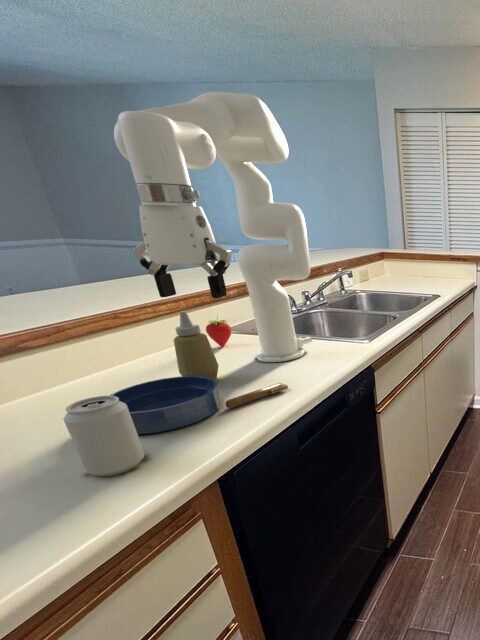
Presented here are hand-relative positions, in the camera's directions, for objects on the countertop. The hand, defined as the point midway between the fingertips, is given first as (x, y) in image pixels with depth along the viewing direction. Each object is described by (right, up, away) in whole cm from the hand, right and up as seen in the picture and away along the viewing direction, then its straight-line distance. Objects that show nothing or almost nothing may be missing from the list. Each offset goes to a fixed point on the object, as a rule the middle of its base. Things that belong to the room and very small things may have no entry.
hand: (194, 296), depth 79 cm
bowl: (-13, -23, +10) cm, 28 cm away
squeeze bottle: (-18, -16, +27) cm, 36 cm away
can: (-7, -31, -8) cm, 32 cm away
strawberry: (-32, -5, +54) cm, 63 cm away
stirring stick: (+1, -20, +18) cm, 27 cm away
